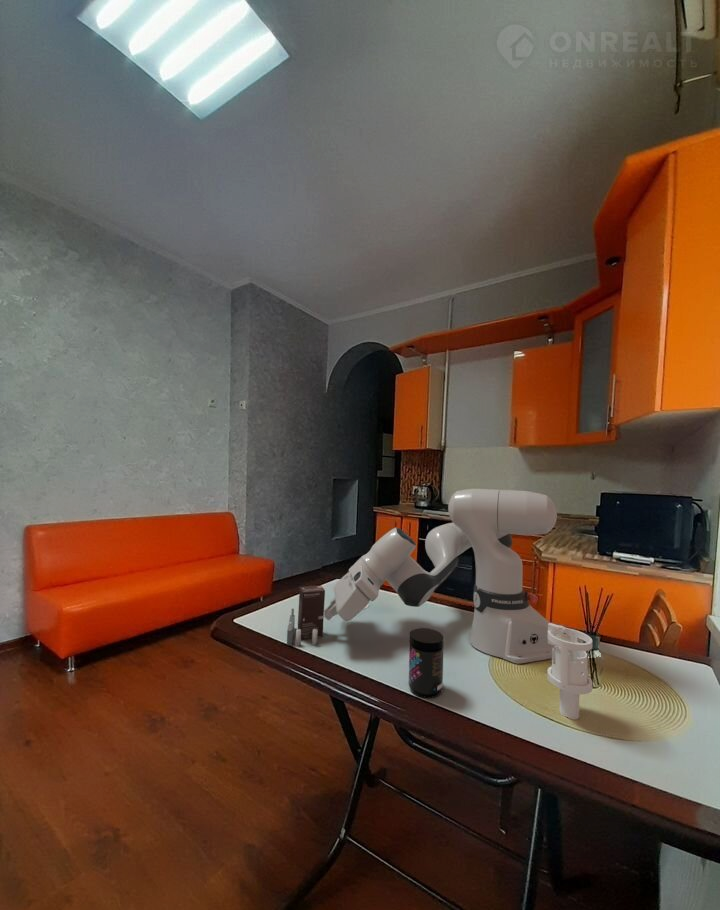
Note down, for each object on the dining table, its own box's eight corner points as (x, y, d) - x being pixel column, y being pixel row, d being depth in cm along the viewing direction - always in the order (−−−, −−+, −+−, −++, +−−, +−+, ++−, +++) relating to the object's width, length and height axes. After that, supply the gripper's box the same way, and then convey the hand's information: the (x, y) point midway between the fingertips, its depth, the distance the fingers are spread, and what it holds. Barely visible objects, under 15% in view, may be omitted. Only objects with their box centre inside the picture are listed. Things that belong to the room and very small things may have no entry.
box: (300, 641, 89) (302, 591, 90) (297, 633, 94) (298, 586, 94) (324, 637, 92) (325, 589, 92) (319, 630, 96) (321, 584, 96)
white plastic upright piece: (553, 696, 70) (554, 617, 71) (596, 714, 65) (596, 629, 66) (541, 713, 65) (542, 628, 66) (587, 733, 60) (587, 641, 61)
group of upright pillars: (317, 627, 98) (317, 607, 98) (317, 645, 87) (317, 623, 88) (290, 627, 97) (290, 607, 97) (286, 646, 87) (287, 623, 87)
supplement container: (415, 675, 76) (416, 625, 76) (447, 686, 72) (448, 633, 73) (402, 691, 70) (404, 637, 70) (436, 704, 67) (437, 646, 67)
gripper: (352, 559, 105) (317, 593, 103) (360, 580, 85) (317, 623, 83) (367, 574, 105) (332, 609, 104) (378, 599, 85) (336, 643, 83)
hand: (325, 616), depth 93 cm, fingers closed
